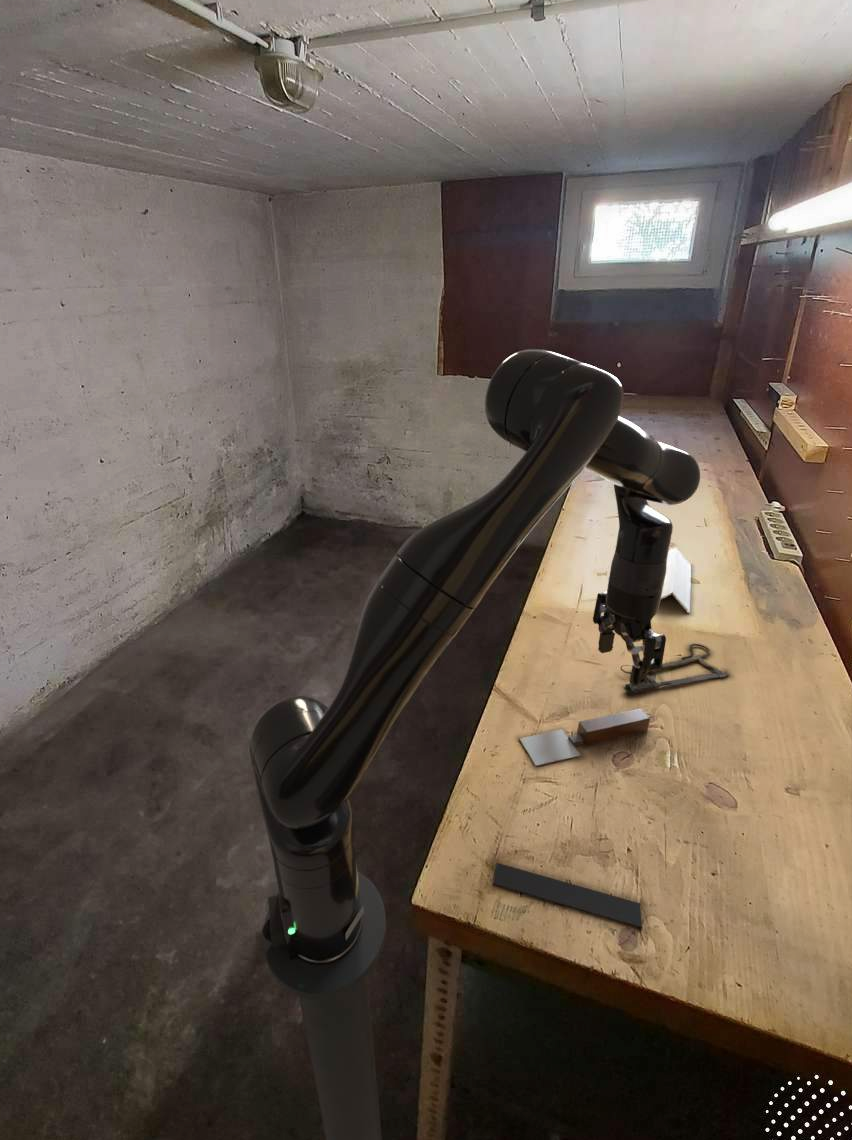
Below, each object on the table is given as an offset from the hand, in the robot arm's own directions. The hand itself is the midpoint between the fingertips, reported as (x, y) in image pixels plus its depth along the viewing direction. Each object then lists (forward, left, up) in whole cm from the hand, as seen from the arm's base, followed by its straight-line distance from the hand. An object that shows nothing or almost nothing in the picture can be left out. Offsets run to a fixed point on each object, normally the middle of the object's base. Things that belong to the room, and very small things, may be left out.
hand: (620, 667), depth 90 cm
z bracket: (+41, +40, -14) cm, 59 cm away
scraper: (-5, -1, -14) cm, 14 cm away
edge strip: (-21, -23, -14) cm, 34 cm away
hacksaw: (+20, +11, -14) cm, 27 cm away
